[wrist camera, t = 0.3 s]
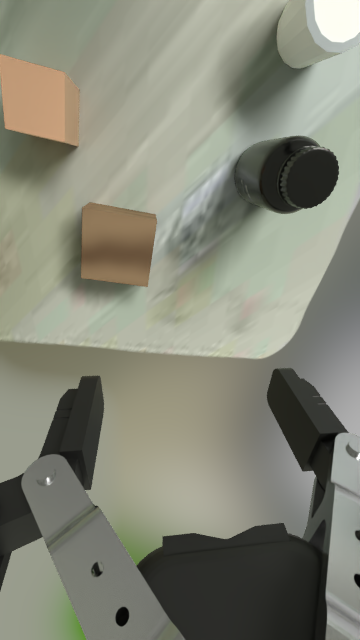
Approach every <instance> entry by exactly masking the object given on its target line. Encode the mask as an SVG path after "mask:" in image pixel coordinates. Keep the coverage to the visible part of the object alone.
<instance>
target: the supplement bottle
mask: <svg viewBox="0 0 360 640" xmlns="http://www.w3.org/2000/svg"><path fill="white" fill-rule="evenodd" d="M338 170H339V166H338V161H337V160H336V156H334V154H333V152H330V150H329V149H326V148H324V147H320V145H319V144H318V143H317V142H316V141H314V140H313V139H311V138H309V137H306V136H290V137H284V138H279V139H273V140H267V141H262V142H258V143H256V144H254V145H252V146H251V147H249V148H248V149H247V150H246V151H245V152H244V153H243V155H242V156H241V158H240V159H239V161H238V164H237V167H236V171H235V184H236V188H237V191H238V193H239V194H240V196H241V197H242V198H243V199H244V200H246V201H247V202H249V203H251V204H254V205H257V206H259V207H262V208H265V209H267V210H270V211H273V212H276V213H280V214H290V213H294V212H297V211H299V210H301V209H303V208H304V209H307V208H312V207H314V206H317V205H318V204H321V203H322V202H323V201H324V200H326V199H327V197H328V196H330V194H331V192H332V191H333V190H334V187H335V186H336V182H337V180H338V174H339V171H338Z"/></svg>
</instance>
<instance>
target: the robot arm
mask: <svg viewBox="0 0 360 640" xmlns="http://www.w3.org/2000/svg"><path fill="white" fill-rule="evenodd" d="M267 400H268V404H269V406H270V408H271V410H272V412H273V414H274V416H275V418H276V420H277V422H278V424H279V426H280V428H281V430H282V432H283V434H284V436H285V438H286V440H287V442H288V444H289V446H290V448H291V450H292V452H293V454H294V455H295V457H296V459H297V461H298V463H299V465H300V467H301V469H302V471H314V473H315V475H316V477H315V480H314V485H313V491H312V498H311V503H310V510H309V516H308V522H307V526H306V529H305V532H304V535H303V538H302V539H301V538H300V537H298V536H295V535H292V534H288V533H287V531H286V528H285V525H284V523H279V524H270V525H261V526H255V527H252V528H250V529H248V530H246V531H244V532H242V533H240V534H238V535H236V536H234V537H232V538H229V539H220V538H215V537H210V536H205V535H200V534H195V533H190V534H182V535H173V536H164V537H163V546H162V547H160V548H158V549H156V550H154V551H153V552H151V553H150V554H148V555H147V556H146V557H145V558H144V559H142V560H141V561H140V562H139V564H138V565H137V566H136V565H135V563H134V562H133V560H132V558H131V557H130V555H129V554H128V552H127V551H126V549H125V547H124V546H123V544H122V542H121V541H120V539H119V538H118V536H117V534H116V533H115V531H114V530H113V528H112V526H111V525H110V523H109V522H108V520H107V518H106V517H105V515H104V514H103V512H102V511H101V509H100V508H99V507H98V506H95V505H94V504H93V503H92V501H91V499H90V498H89V496H88V495H87V493H86V491H85V490H90V489H91V485H92V479H93V473H94V467H95V462H96V456H97V450H98V444H99V437H100V431H101V425H102V419H103V412H104V400H103V393H102V385H101V378H100V376H82V377H81V380H80V383H79V387H78V389H69V390H68V391H67V392H66V393H65V394H64V395H63V396H62V398H61V399H60V401H59V404H58V407H57V411H56V412H55V415H54V418H53V421H52V423H51V426H50V429H49V432H48V435H47V437H46V440H45V443H44V446H43V448H42V451H41V454H40V456H39V458H38V459H37V460H36V461H34V462H33V463H32V464H31V465H30V466H29V467H28V468H27V470H26V471H25V473H23V474H21V475H20V476H18V477H15V478H13V479H10V480H7V481H5V482H2V483H0V590H1V586H2V583H3V580H4V576H5V573H6V570H7V566H8V563H9V559H10V556H11V553H12V551H14V550H16V549H18V548H20V547H22V546H24V545H26V544H29V543H31V542H33V541H35V540H37V539H39V538H41V537H43V538H44V541H45V543H46V545H47V548H48V550H49V553H50V555H51V558H52V560H53V562H54V564H55V567H56V569H57V571H58V574H59V576H60V578H61V581H62V583H63V585H64V587H65V590H66V592H67V595H68V597H69V599H70V601H71V604H72V606H73V609H74V611H75V613H76V616H77V618H78V620H79V623H80V625H81V627H82V630H83V632H84V634H85V637H86V639H87V640H360V437H359V436H357V435H354V434H351V433H348V431H347V430H346V429H345V428H344V426H343V425H342V424H341V422H340V421H339V419H338V418H337V417H336V416H335V414H334V413H333V411H332V410H331V409H330V407H329V406H328V405H326V402H325V401H324V400H323V398H322V397H320V394H319V393H318V392H317V390H316V389H315V388H314V386H312V385H311V384H310V383H309V382H307V381H305V380H304V379H300V378H299V377H298V375H297V374H296V373H295V371H294V370H293V369H291V368H282V369H275V370H274V371H273V374H272V378H271V381H270V384H269V388H268V392H267Z"/></svg>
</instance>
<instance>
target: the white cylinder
mask: <svg viewBox="0 0 360 640" xmlns="http://www.w3.org/2000/svg"><path fill="white" fill-rule="evenodd" d="M276 39H277V46H278V52H279V54H280V56H281V58H282V60H283V61H284V63H286V64H287V65H289V66H290V67H291V68H301V69H302V68H304V67H307V66H310V65H312V64H315V63H317V62H320V61H322V60H325V59H328V58H330V57H333V56H335V55H338V54H340V53H343V52H345V51H347V50H349V49H351V48H353V47H356V46H357V45H358V44H359V43H360V0H289V2H288V3H287V5H286V6H285V8H284V10H283V13H282V15H281V17H280V20H279V22H278V29H277V36H276Z"/></svg>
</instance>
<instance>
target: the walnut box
mask: <svg viewBox="0 0 360 640" xmlns="http://www.w3.org/2000/svg"><path fill="white" fill-rule="evenodd" d="M156 224H157V219H156V215H155V214H150V213H145V212H139V211H134V210H129V209H123V208H118V207H112V206H107V205H102V204H96V203H91V202H90V203H88V204H87V205H85V206H84V207H82V252H81V278H85V279H92V280H100V281H107V282H115V283H122V284H130V285H138V286H145V287H148V280H149V273H150V266H151V259H152V252H153V245H154V238H155V231H156Z"/></svg>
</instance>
